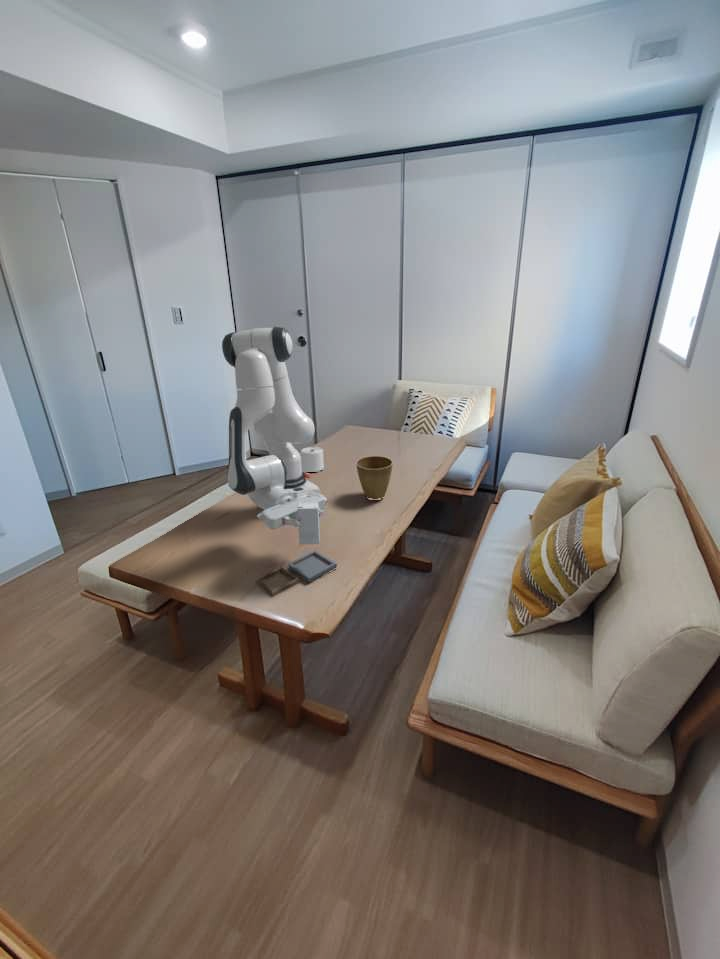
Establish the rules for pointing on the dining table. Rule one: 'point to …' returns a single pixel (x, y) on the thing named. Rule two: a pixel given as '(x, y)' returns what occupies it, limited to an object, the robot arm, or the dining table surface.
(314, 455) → the toilet tissue
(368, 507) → the dining table surface
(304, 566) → the tray
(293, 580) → the brown wooden square frame
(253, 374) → the robot arm
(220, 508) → the dining table surface
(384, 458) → the plant pot
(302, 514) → the skincare box
